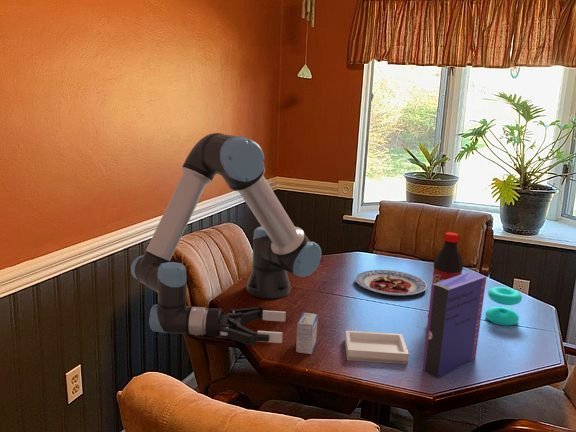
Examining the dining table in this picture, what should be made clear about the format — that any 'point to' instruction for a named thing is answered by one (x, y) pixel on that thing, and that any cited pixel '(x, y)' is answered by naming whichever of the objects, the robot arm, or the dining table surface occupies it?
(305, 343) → the medicine box
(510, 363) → the dining table surface
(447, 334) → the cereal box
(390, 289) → the ceramic plate
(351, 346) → the tray
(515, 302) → the donuts
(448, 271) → the cola bottle
